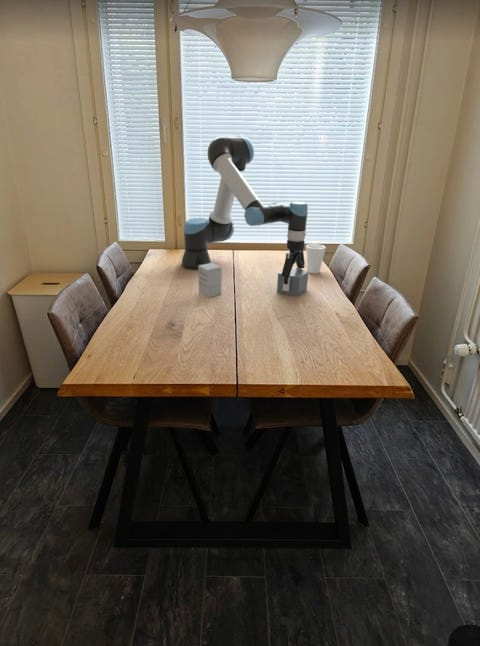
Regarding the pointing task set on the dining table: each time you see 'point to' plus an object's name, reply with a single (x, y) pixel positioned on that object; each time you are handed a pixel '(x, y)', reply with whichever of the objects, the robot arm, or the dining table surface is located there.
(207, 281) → the supplement box
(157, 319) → the dining table surface
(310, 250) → the foam cup
